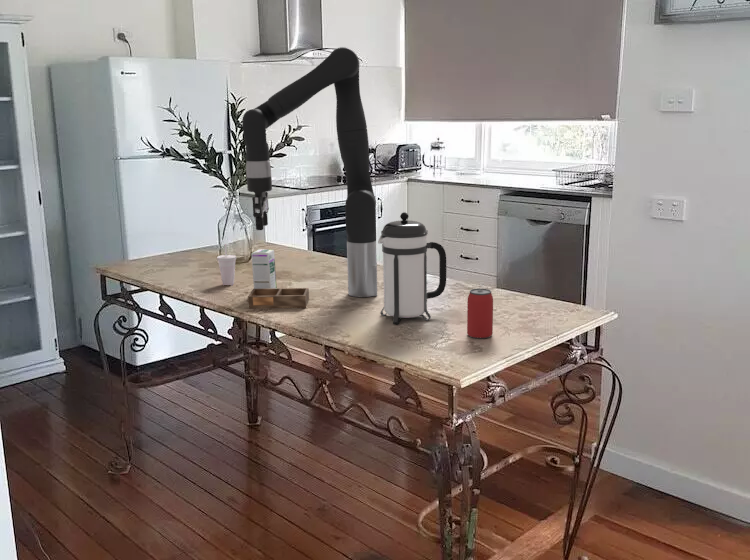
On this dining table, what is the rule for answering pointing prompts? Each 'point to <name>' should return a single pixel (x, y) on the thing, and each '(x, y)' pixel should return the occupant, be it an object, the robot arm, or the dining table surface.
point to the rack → (278, 298)
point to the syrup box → (264, 269)
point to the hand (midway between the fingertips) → (262, 227)
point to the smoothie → (227, 267)
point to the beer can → (480, 313)
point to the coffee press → (408, 269)
